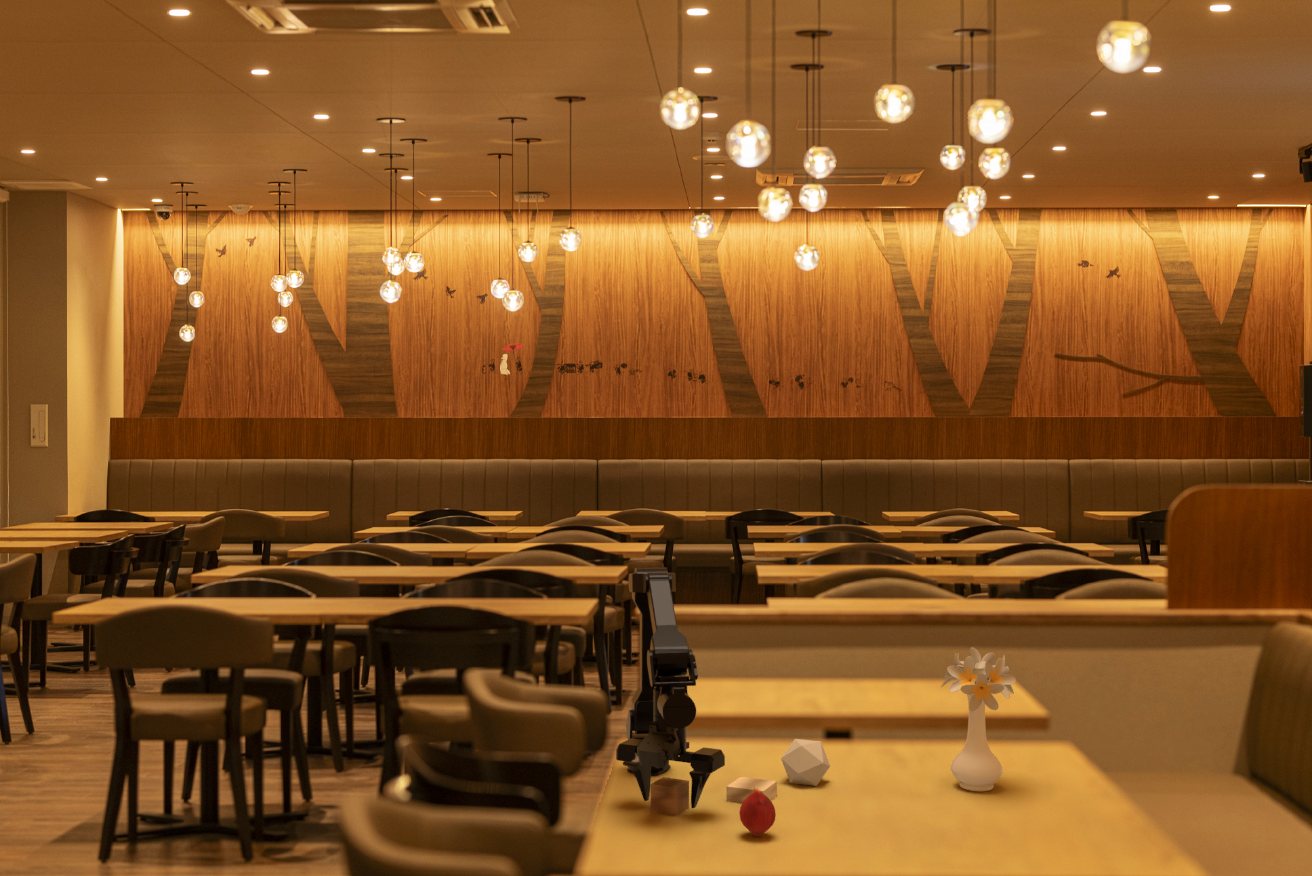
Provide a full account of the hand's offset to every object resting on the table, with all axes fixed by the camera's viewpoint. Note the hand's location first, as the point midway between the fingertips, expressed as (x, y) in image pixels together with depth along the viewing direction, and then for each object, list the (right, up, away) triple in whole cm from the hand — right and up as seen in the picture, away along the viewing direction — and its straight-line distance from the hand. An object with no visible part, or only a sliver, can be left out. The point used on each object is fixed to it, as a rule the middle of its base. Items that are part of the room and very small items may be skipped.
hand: (669, 804), depth 225 cm
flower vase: (+57, -1, +13) cm, 59 cm away
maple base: (+15, -1, +7) cm, 16 cm away
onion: (+14, -2, -14) cm, 20 cm away
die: (+26, -1, +17) cm, 31 cm away
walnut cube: (0, -1, 0) cm, 1 cm away
